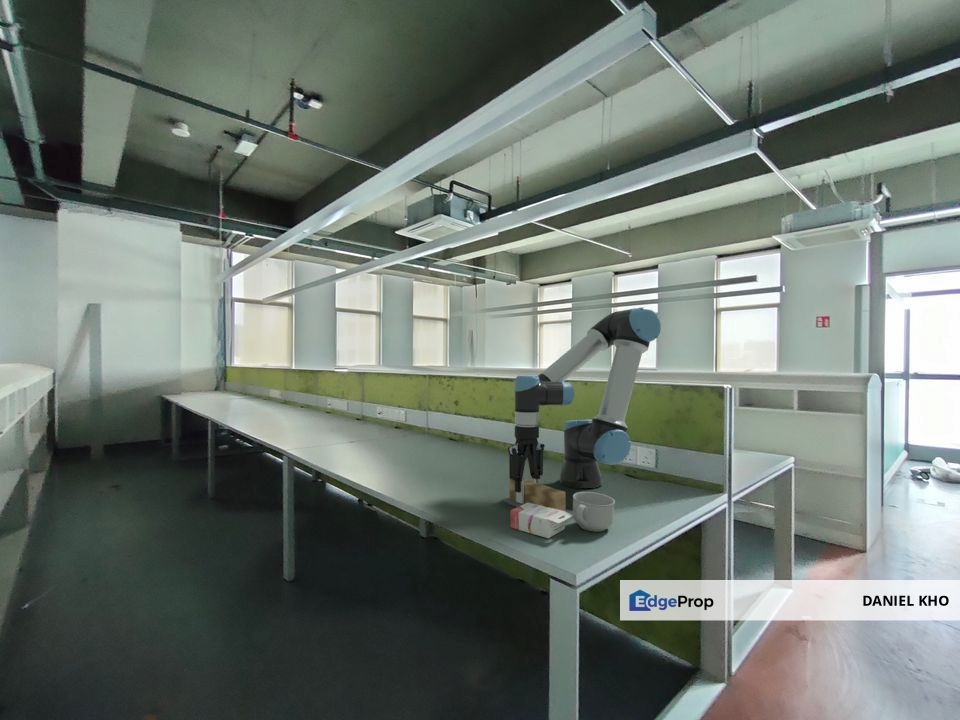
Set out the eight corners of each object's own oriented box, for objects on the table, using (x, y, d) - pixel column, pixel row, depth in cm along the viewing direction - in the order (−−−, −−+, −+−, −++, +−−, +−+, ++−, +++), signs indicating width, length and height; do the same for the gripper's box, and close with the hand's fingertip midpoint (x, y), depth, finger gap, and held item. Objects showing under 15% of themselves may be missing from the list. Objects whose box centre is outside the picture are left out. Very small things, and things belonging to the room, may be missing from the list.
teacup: (588, 517, 119) (588, 488, 119) (623, 528, 110) (623, 498, 111) (556, 529, 110) (556, 498, 110) (591, 542, 102) (591, 509, 102)
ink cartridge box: (509, 528, 111) (558, 542, 101) (509, 509, 111) (557, 522, 101) (528, 519, 117) (575, 532, 108) (528, 501, 118) (575, 512, 108)
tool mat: (522, 495, 138) (522, 493, 138) (574, 514, 121) (574, 511, 121) (501, 500, 133) (501, 498, 133) (552, 521, 115) (552, 518, 115)
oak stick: (509, 497, 133) (509, 479, 133) (519, 495, 136) (518, 477, 136) (555, 516, 117) (555, 494, 117) (565, 513, 120) (565, 492, 120)
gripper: (538, 421, 138) (538, 492, 138) (497, 425, 128) (496, 502, 127) (555, 424, 132) (555, 498, 132) (513, 428, 122) (512, 509, 121)
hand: (526, 500), depth 130 cm, fingers open, 4 cm apart
